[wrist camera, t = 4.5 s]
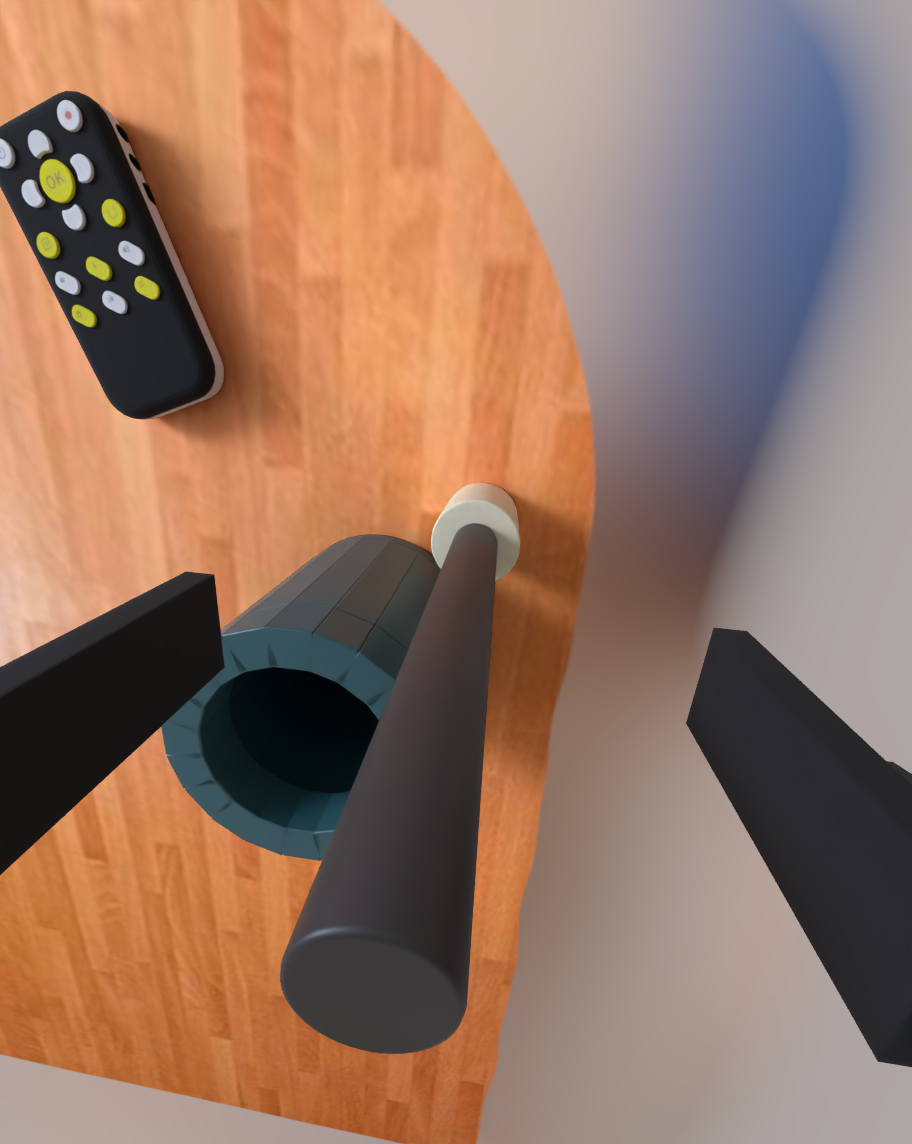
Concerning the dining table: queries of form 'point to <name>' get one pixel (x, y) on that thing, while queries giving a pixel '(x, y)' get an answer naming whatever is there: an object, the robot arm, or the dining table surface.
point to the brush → (412, 817)
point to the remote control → (108, 256)
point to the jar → (302, 694)
